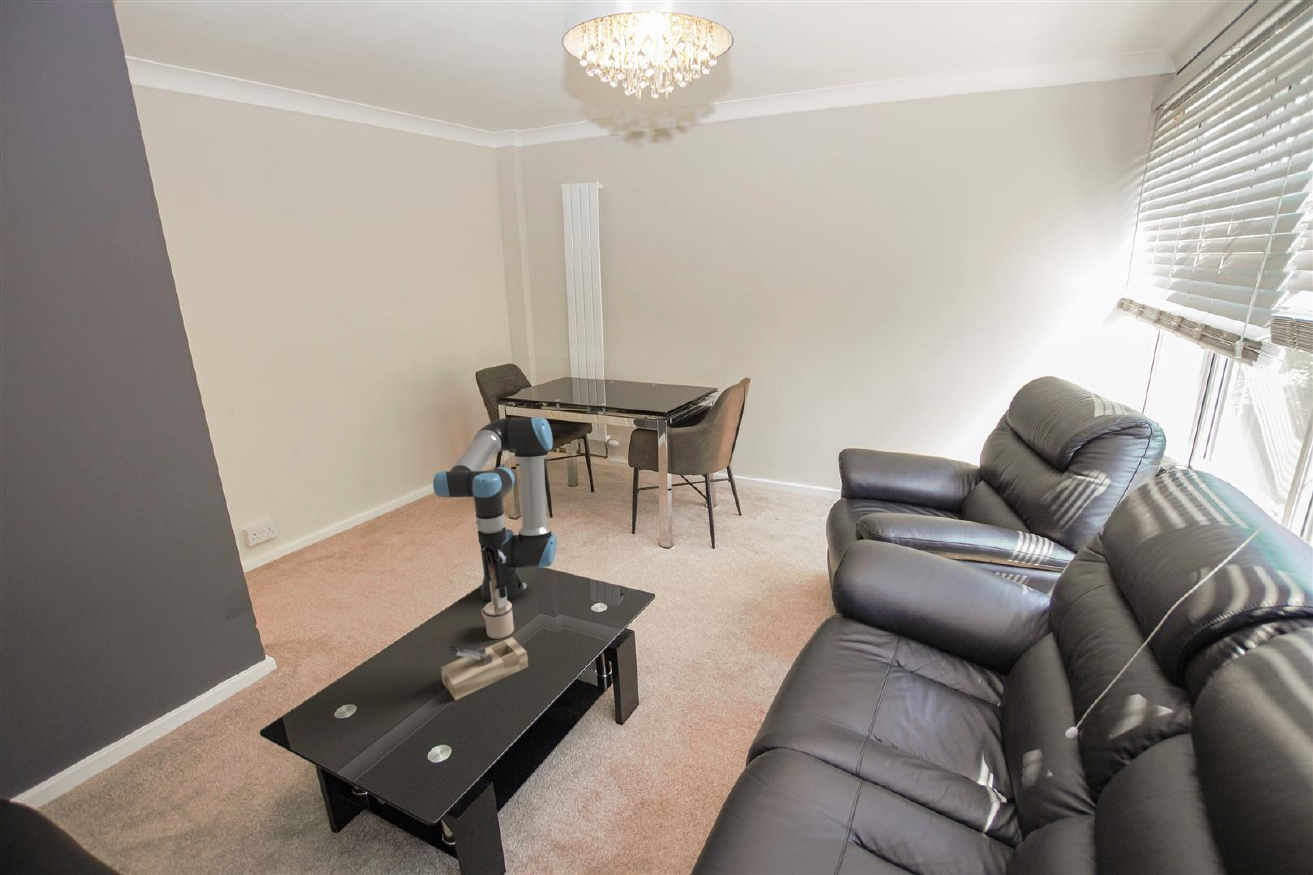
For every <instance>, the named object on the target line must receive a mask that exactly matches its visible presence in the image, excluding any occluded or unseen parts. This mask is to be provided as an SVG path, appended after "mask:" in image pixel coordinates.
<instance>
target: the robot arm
mask: <svg viewBox="0 0 1313 875" xmlns="http://www.w3.org/2000/svg"><path fill="white" fill-rule="evenodd" d="M476 432H477V433H475V435H474V437H473V440H472V443H471V444H470V445H469V447H468V448H467V449H466V450H465V451H464V453H463V454H462V455H461V457H460V458H459V459H458V460H457V462H455V464H454V465H453V466H452V467H451V469H450V470H444V471H438V472H437V473H435V475H434V477H433V481H432V482H433V483H432V487H433V492H434V494H435V495H436V496H437V497H439V498H473V501H474V509H475V510H474V511H475V519H476V521H475V522H474V523H475V525H476V527H477V530H478V531H477V537H478V544H480V553H481V561H482V569H483V579H482V582H481V587H480V594H481V598H482V599H483V600H484V601H485V602H488V603H490V602H492V603H493V595H492V586H491V577H490V570H489V569H488V565H489V564H492V565H493V567H494V573H495V578H496V584H497V586H495V589H496V597H497V606H498V608H501V607H504V606H507V605H508V604H507V601H509V602H510V601H511V600H514V599H516V598H517V597H519V596H520V595H521V594H522V593H523V592H524V583H523V579H522V578H521V576H520V573H519V572H518V570H517V569H522V568H525V569H526V568H538V569H540V568H549V567H550V566H552V564H553V563H554V561H555V557H556V553H557V545H558V544H557V542H558V541H557V540H558V539H557V538H558V537H557V535H556V534H554V533H553V532H552V528H551V527H550V526H549V525H548V521H547V519H548V518H547V500H546V499H547V498H546V478H545V476H546V474H545V459H546V458H547V457H548V456H549V451H551V450H552V448H553V444H554V443H553V442H554V441H553V440H554V439H553V433H552V429H551V426H550V423H549V421H548V420H547V419H546V418H544V417H536V416H531V417H502V418H500V419H495V420H494V421H492V422H489V423H488V424H486V425H484V426H483V427H481V429H480V430H478V431H476ZM499 452H513V453H514V458H516V460H518V462H519V479H520V480H519V482H520V484H519V485H520V498H521V499H520V500H521V521H522V527H521V528H520V529H519V530H518V534H514V532H513V530H512V529H510V528H506V527H505V526H506V516H505V511H504V498H505V496H507V494H508V493H509V492H511V490H512V488H513V486H514V484H515V474H514V473H513V471H512V470H511V469H510V468H508V467H505V466H498V467H495V468H493V470H483V469H484V468H485V467H486V465H487V464H488V462H489V461H490V459H491V458H492V457H493V456H495V455H497V454H498V453H499Z"/></svg>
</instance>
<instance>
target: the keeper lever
mask: <svg viewBox="0 0 1313 875" xmlns="http://www.w3.org/2000/svg"><path fill="white" fill-rule="evenodd" d="M446 650H447V651H448V652H449V653H450V655H452V656H453V655H454V656H457V657H462V658H463V657H468V658H473V659H479V660H482V657H484V656H486V655H485V654H484V653H482V652H477V651H476V650H473V649H472V650H471V649H465V648H462V647H456V646H451V645H448V646H447V649H446Z"/></svg>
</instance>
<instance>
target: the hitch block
mask: <svg viewBox="0 0 1313 875" xmlns="http://www.w3.org/2000/svg"><path fill="white" fill-rule="evenodd" d="M475 651H477V652H482V653H484V654H485V655H486V656H484V657H482V660H479V659H473V658H468V657H463V656H462V657H461V658H458V659H456V660H454V661H452V662H449V663H447V664H444V665H442V666H440V673H441V674H440V675H441V680H442V683H443V685H444V686H445V688H446V689H447V690H448V692H449V693H450V695H451V696H452V698H453V699H454V700H455V701H458V700H460V699H461V698H463V697H466V696H468V695H469V694H470V695H471V694H472V693H474V692H477V691H479V690H481V689H483V688H485V687H487V686H489V685H492V684H494V683H497V682H498V681H500V680H503V679H504V678H507V677H509V676H511V675H513V674H515V673H517V672H519V671H522V670H524V669H526V668H528V667H529V659H528V652H527V651H526V649H525V648H523V646H522V645H521V644H519V642H518V641H517V640H515V639H514V637H513V636H511V637H508V638H506V639H503V640H502V641H500V642H496V643H495V644H492V645H490V646H487V647H485V646H482V647H480V648H477V649H475Z"/></svg>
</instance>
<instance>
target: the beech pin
mask: <svg viewBox="0 0 1313 875" xmlns="http://www.w3.org/2000/svg"><path fill="white" fill-rule="evenodd" d="M488 569H489V570H490V577H491V586H492V595H493V604H494V613H495V614H496V615H502V614H505V613H506V611H507V610H506V606H504V607H501V608H498V606H497V597H496V589H495V586H497V584H496V578H495V573H494V567H493V565H492V564H489V565H488Z"/></svg>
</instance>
